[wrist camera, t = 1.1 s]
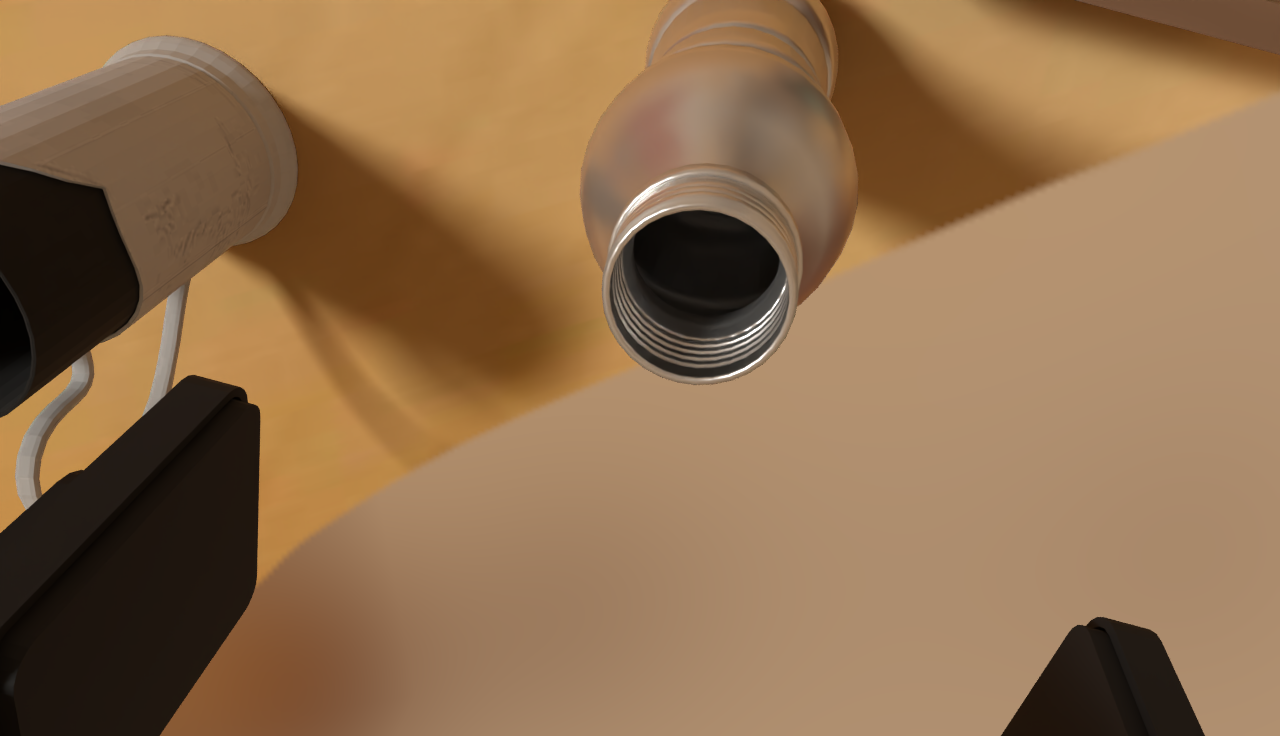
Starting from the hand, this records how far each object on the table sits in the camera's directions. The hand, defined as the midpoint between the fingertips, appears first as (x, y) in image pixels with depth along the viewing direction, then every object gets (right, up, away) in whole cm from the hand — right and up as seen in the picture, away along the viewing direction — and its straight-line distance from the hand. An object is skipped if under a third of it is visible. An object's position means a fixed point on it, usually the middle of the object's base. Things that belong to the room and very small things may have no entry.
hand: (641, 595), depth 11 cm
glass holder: (-18, +9, +30) cm, 36 cm away
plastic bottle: (+4, +14, +24) cm, 28 cm away
